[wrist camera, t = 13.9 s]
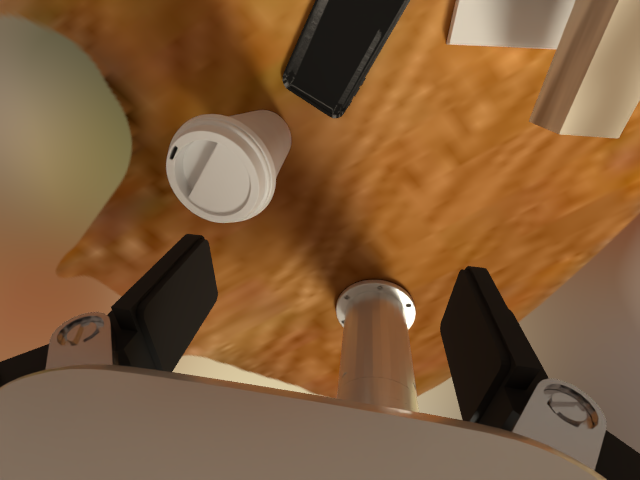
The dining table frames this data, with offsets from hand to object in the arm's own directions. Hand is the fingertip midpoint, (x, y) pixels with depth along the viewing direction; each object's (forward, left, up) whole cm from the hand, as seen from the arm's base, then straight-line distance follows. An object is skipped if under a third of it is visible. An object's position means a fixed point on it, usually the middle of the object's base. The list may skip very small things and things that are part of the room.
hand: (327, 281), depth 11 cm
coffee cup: (-2, +11, -28) cm, 31 cm away
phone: (+9, +2, -29) cm, 30 cm away
